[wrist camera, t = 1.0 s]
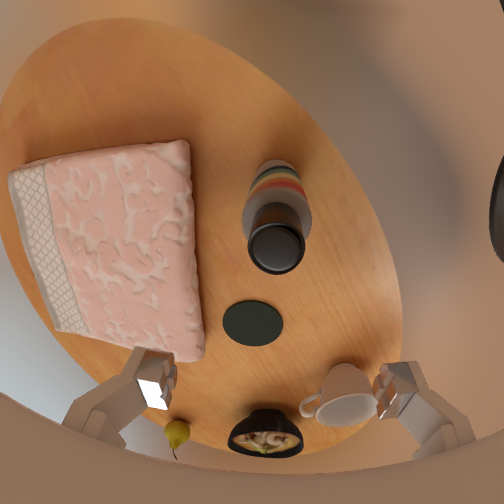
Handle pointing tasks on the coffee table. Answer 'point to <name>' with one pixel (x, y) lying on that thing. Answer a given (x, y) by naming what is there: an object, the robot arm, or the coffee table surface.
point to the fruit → (177, 433)
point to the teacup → (343, 398)
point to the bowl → (266, 435)
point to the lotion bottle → (276, 218)
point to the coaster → (252, 323)
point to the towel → (115, 244)
